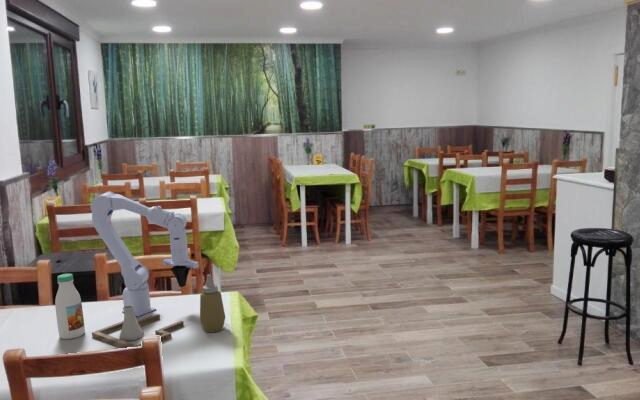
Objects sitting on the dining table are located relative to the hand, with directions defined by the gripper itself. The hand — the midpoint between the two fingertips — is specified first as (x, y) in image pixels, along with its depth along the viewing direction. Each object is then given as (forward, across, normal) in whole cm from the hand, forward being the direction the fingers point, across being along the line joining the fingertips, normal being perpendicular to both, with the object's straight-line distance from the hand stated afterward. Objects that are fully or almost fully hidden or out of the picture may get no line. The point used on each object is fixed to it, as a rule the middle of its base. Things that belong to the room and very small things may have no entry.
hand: (182, 286), depth 197 cm
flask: (+9, +1, -26) cm, 28 cm away
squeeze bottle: (+9, +22, -12) cm, 27 cm away
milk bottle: (+9, -19, -32) cm, 38 cm away
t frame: (+8, +2, -22) cm, 24 cm away
